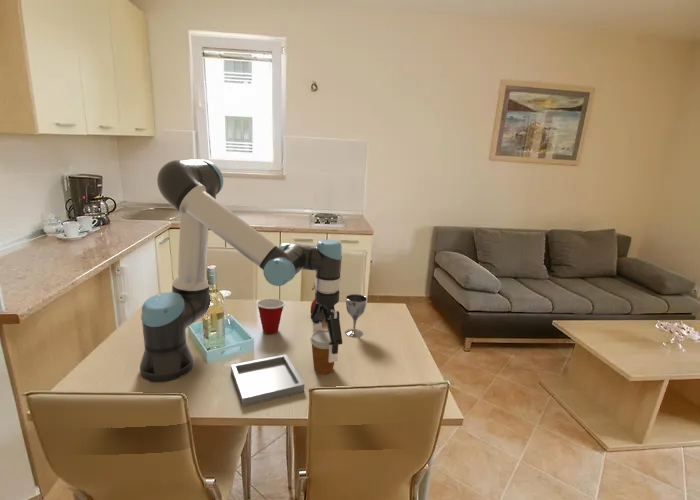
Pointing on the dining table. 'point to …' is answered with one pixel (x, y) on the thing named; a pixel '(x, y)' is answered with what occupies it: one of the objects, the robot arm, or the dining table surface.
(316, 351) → the disposable coffee cup
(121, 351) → the dining table surface
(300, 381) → the tray
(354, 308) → the wine glass
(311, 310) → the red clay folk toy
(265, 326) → the plastic cup
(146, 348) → the robot arm
